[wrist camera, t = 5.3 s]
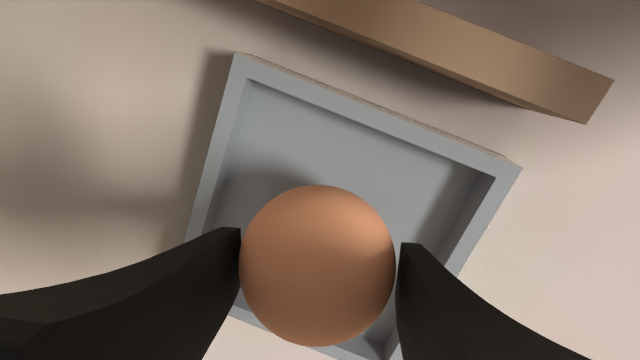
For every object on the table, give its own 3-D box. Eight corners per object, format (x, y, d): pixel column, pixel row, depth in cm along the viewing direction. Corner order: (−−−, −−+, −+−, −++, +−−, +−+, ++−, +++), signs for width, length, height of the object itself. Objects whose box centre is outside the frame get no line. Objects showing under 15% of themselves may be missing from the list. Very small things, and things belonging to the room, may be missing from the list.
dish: (503, 155, 13) (522, 168, 11) (389, 350, 16) (392, 381, 15) (250, 54, 13) (234, 52, 11) (188, 270, 16) (169, 292, 15)
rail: (546, 76, 12) (614, 80, 9) (527, 109, 12) (585, 124, 9) (171, -74, 12) (97, -127, 9) (164, -37, 12) (91, -74, 9)
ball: (390, 166, 13) (413, 225, 8) (385, 284, 14) (402, 393, 10) (256, 166, 13) (202, 222, 8) (265, 281, 15) (223, 382, 10)
